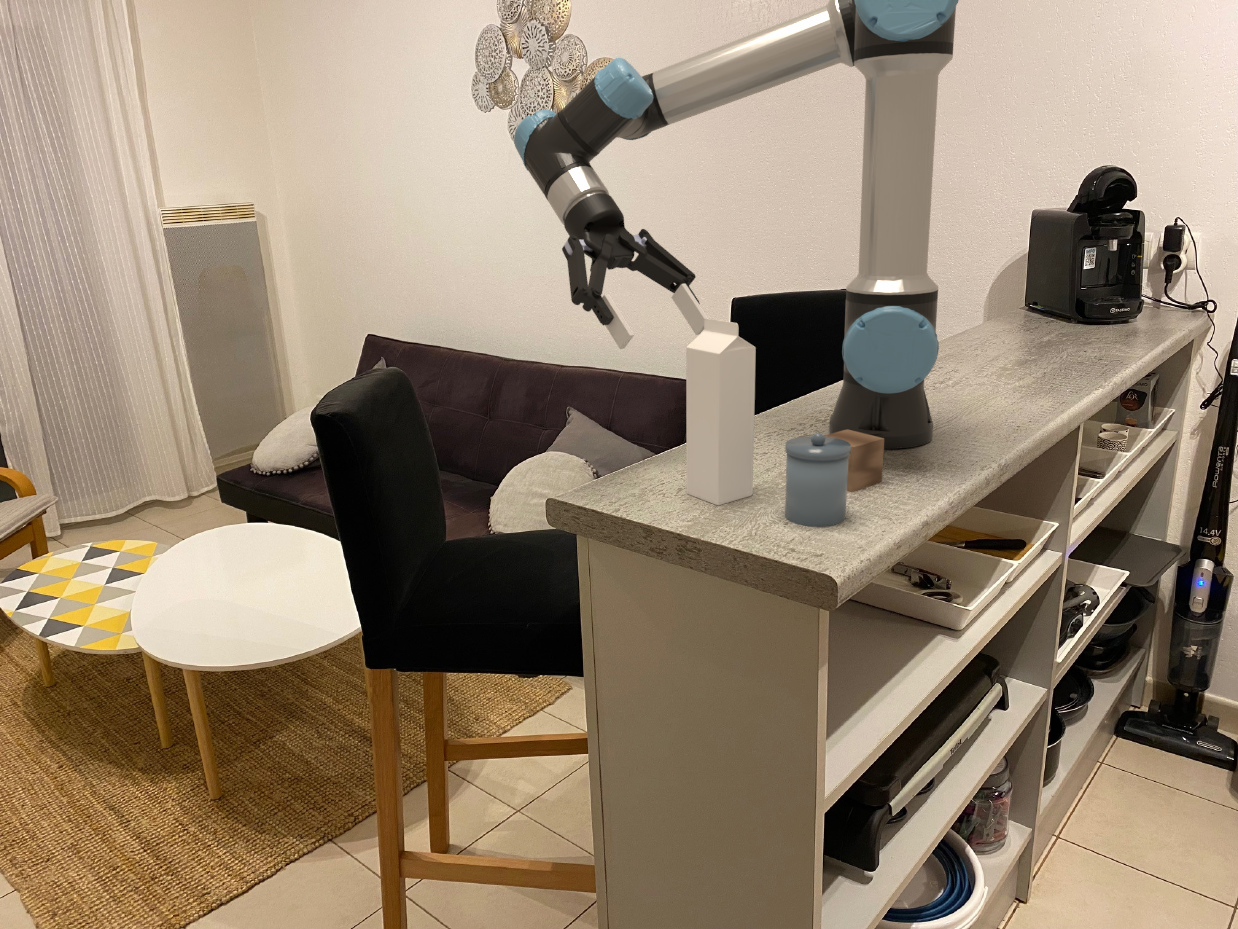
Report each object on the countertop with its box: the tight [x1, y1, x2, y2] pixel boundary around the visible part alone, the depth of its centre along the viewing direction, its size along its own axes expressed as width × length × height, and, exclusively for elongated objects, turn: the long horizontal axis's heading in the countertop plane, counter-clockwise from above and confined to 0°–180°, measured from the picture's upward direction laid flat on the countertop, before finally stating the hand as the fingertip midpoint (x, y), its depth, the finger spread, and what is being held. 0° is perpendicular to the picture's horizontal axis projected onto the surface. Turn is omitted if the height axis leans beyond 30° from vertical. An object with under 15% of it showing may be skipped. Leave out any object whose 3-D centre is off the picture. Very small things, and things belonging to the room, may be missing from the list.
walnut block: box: [823, 429, 885, 493], centre depth 123 cm, size 6×6×6 cm
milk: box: [685, 317, 757, 506], centre depth 117 cm, size 6×6×22 cm
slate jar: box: [784, 432, 851, 528], centre depth 111 cm, size 7×7×10 cm
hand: (666, 335), depth 121 cm, fingers open, 13 cm apart
